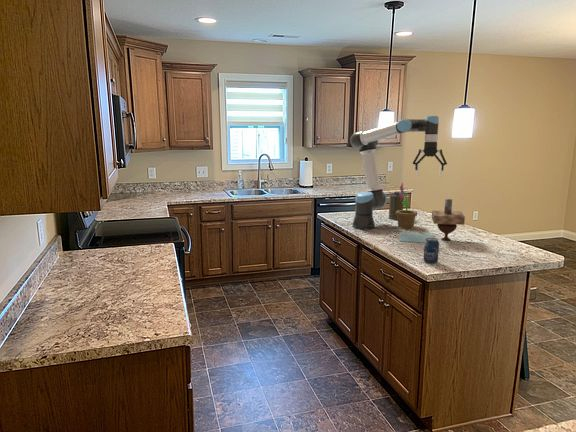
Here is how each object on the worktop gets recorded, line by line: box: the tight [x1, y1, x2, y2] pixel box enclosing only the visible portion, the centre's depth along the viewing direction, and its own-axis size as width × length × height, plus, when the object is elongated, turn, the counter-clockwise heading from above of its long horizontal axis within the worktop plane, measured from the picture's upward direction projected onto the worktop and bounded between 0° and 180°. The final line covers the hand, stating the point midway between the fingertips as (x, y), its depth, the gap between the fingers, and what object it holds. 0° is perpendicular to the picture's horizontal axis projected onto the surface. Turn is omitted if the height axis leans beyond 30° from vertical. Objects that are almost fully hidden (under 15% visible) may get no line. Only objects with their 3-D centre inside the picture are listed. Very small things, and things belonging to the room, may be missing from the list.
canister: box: [388, 191, 405, 221], centre depth 319 cm, size 11×10×20 cm
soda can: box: [423, 237, 440, 265], centre depth 216 cm, size 7×7×12 cm
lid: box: [431, 198, 466, 226], centre depth 256 cm, size 17×17×13 cm
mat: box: [399, 232, 435, 244], centre depth 264 cm, size 20×20×1 cm
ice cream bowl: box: [436, 224, 458, 242], centre depth 259 cm, size 11×11×15 cm
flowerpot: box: [396, 182, 418, 229], centre depth 292 cm, size 14×14×30 cm
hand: (428, 175), depth 271 cm, fingers open, 13 cm apart
